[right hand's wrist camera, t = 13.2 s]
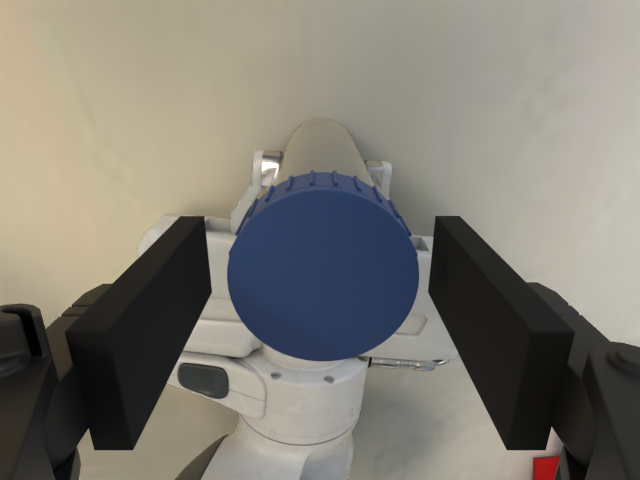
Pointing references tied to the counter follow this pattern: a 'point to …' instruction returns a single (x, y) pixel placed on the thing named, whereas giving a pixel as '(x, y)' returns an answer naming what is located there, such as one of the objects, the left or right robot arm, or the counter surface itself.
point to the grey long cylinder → (321, 152)
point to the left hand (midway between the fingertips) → (322, 156)
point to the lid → (323, 268)
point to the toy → (545, 468)
